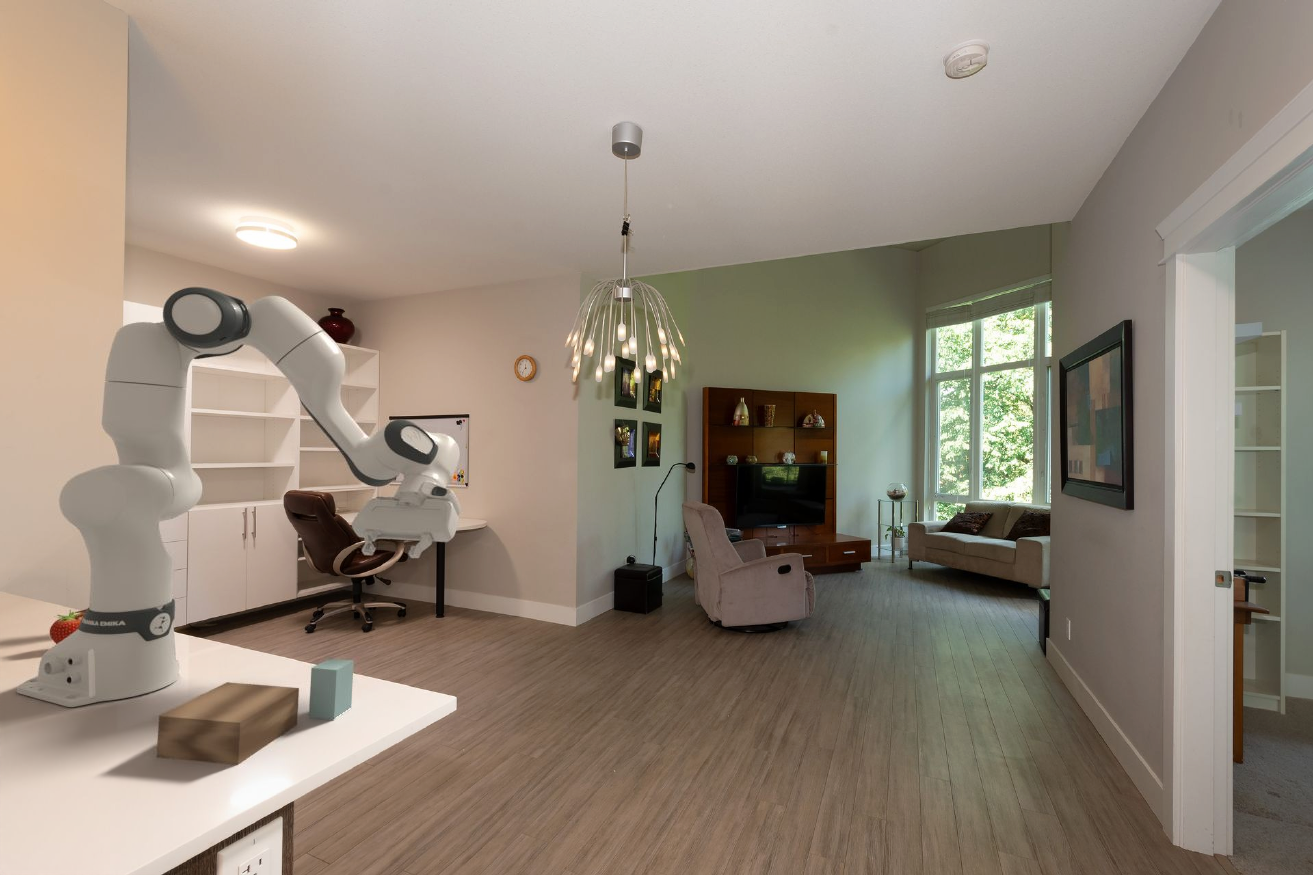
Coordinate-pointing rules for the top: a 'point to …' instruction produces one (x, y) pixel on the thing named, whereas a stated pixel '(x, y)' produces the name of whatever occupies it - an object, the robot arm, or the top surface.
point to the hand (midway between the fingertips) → (389, 554)
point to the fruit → (64, 626)
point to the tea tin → (331, 688)
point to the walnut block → (227, 723)
